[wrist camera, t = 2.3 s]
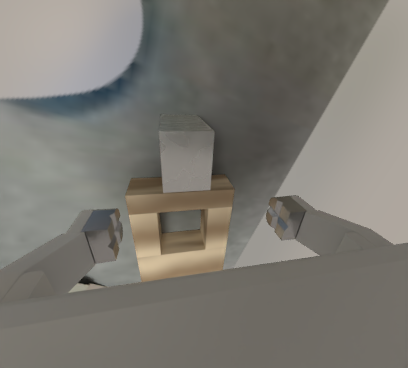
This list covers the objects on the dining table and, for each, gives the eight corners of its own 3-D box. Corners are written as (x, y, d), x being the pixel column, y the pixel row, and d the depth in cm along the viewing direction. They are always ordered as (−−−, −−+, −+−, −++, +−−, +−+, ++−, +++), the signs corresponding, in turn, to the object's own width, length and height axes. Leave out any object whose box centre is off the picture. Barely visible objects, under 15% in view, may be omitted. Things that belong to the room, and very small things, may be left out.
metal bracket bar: (160, 114, 19) (158, 131, 12) (197, 115, 20) (214, 131, 13) (163, 158, 22) (163, 192, 15) (196, 157, 22) (210, 190, 16)
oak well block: (131, 178, 22) (125, 195, 19) (224, 174, 24) (234, 189, 21) (146, 272, 31) (144, 295, 27) (214, 262, 33) (220, 283, 30)
